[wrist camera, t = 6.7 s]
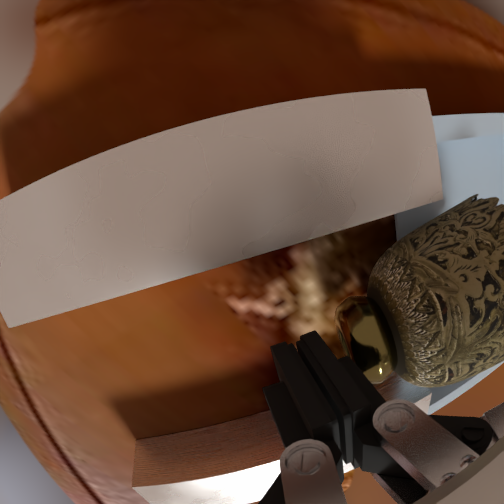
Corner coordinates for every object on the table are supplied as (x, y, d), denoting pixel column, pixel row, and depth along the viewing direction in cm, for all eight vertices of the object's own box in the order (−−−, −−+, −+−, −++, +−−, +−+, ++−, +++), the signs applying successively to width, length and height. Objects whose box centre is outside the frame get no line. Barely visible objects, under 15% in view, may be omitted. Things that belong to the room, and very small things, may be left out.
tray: (519, 113, 13) (552, 114, 10) (514, 316, 18) (538, 331, 16) (379, 121, 12) (423, 117, 9) (396, 391, 17) (420, 420, 14)
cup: (331, 338, 16) (450, 285, 16) (377, 456, 10) (520, 374, 10) (299, 223, 12) (454, 168, 12) (377, 373, 6) (574, 250, 6)
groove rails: (374, 99, 12) (425, 88, 8) (395, 400, 17) (422, 434, 14) (13, 203, 10) (-35, 220, 7) (164, 473, 16) (165, 515, 13)
